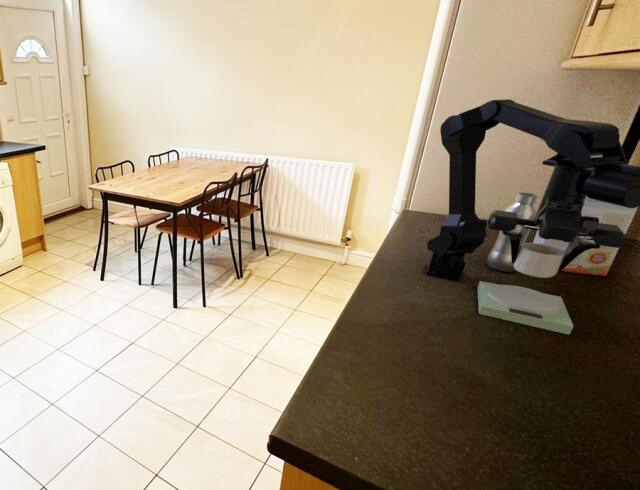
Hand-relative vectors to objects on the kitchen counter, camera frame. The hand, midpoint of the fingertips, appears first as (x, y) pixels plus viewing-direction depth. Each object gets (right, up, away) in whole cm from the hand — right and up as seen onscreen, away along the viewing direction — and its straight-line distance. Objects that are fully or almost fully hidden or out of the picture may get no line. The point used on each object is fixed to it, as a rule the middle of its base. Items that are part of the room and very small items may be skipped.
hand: (534, 266), depth 85 cm
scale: (+2, -9, +5) cm, 11 cm away
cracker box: (+30, -1, +22) cm, 37 cm away
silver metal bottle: (+14, -1, +23) cm, 27 cm away
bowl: (0, -1, 0) cm, 1 cm away
